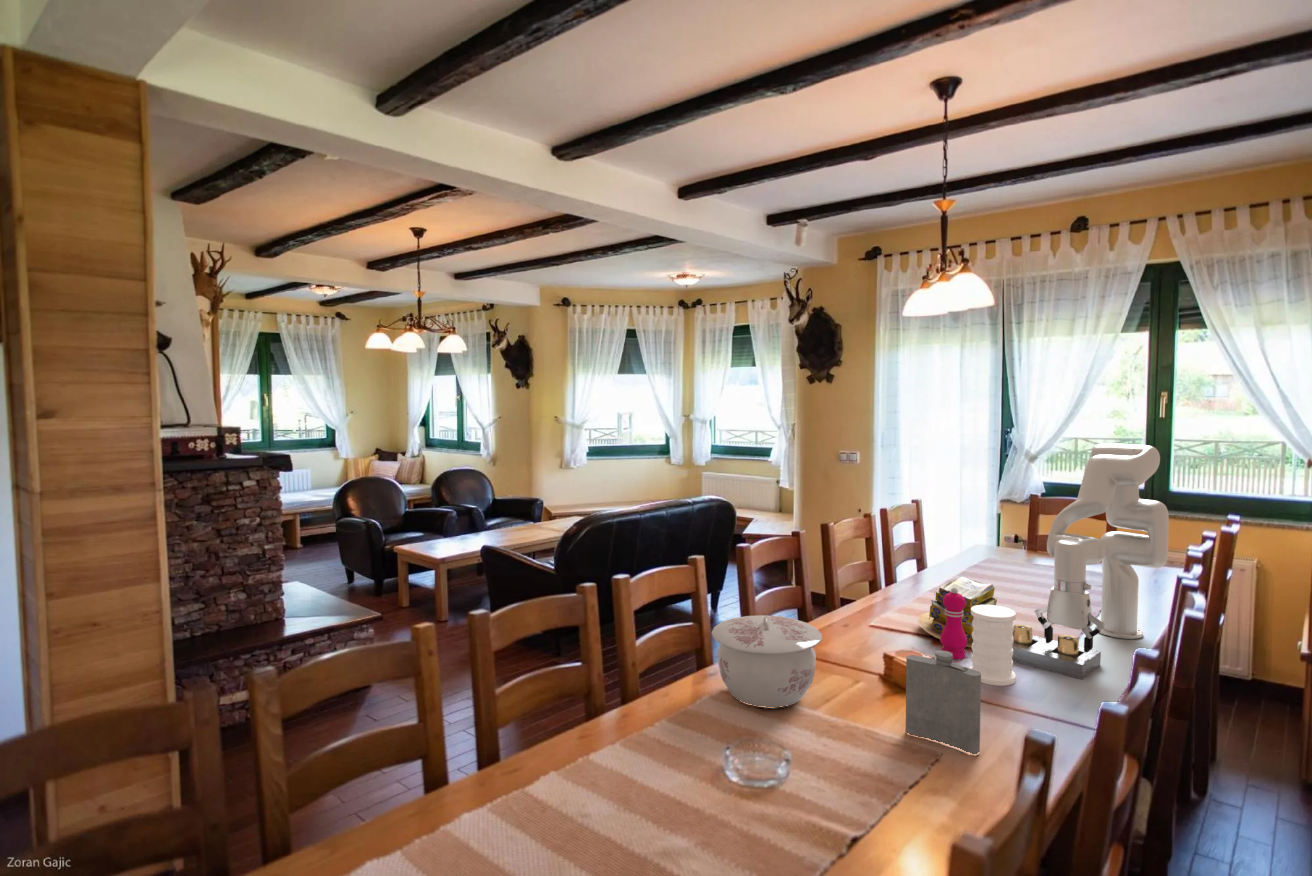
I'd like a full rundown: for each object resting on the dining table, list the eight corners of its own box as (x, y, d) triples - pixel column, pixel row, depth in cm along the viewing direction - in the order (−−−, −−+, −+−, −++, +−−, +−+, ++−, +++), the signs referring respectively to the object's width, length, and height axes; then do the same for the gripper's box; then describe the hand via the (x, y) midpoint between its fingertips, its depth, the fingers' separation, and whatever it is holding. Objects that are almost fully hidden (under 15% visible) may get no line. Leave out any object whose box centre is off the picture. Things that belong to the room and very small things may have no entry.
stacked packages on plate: (1022, 640, 219) (1023, 586, 218) (962, 654, 209) (963, 597, 208) (958, 617, 241) (959, 568, 240) (901, 628, 231) (901, 577, 230)
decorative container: (969, 682, 189) (970, 615, 188) (966, 666, 200) (967, 602, 199) (1018, 688, 185) (1020, 619, 184) (1013, 671, 196) (1014, 606, 195)
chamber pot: (753, 732, 164) (752, 643, 162) (692, 688, 188) (691, 610, 186) (847, 706, 176) (847, 623, 175) (778, 667, 201) (778, 594, 199)
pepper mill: (969, 661, 203) (970, 591, 202) (942, 659, 205) (943, 590, 203) (964, 652, 210) (965, 584, 209) (937, 650, 212) (938, 583, 210)
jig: (1010, 643, 217) (1011, 617, 216) (1100, 665, 199) (1101, 637, 198) (990, 655, 208) (990, 627, 207) (1082, 679, 190) (1083, 650, 189)
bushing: (1061, 661, 202) (1061, 633, 202) (1080, 666, 198) (1081, 638, 198) (1054, 666, 199) (1055, 637, 198) (1074, 671, 195) (1074, 642, 195)
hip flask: (903, 733, 162) (904, 647, 161) (910, 727, 165) (911, 642, 164) (976, 758, 151) (978, 665, 150) (983, 750, 154) (984, 659, 153)
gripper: (1109, 589, 193) (1108, 651, 194) (1041, 576, 206) (1040, 635, 207) (1100, 594, 188) (1098, 658, 189) (1030, 581, 201) (1029, 641, 202)
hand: (1067, 646), depth 198 cm, fingers open, 9 cm apart
